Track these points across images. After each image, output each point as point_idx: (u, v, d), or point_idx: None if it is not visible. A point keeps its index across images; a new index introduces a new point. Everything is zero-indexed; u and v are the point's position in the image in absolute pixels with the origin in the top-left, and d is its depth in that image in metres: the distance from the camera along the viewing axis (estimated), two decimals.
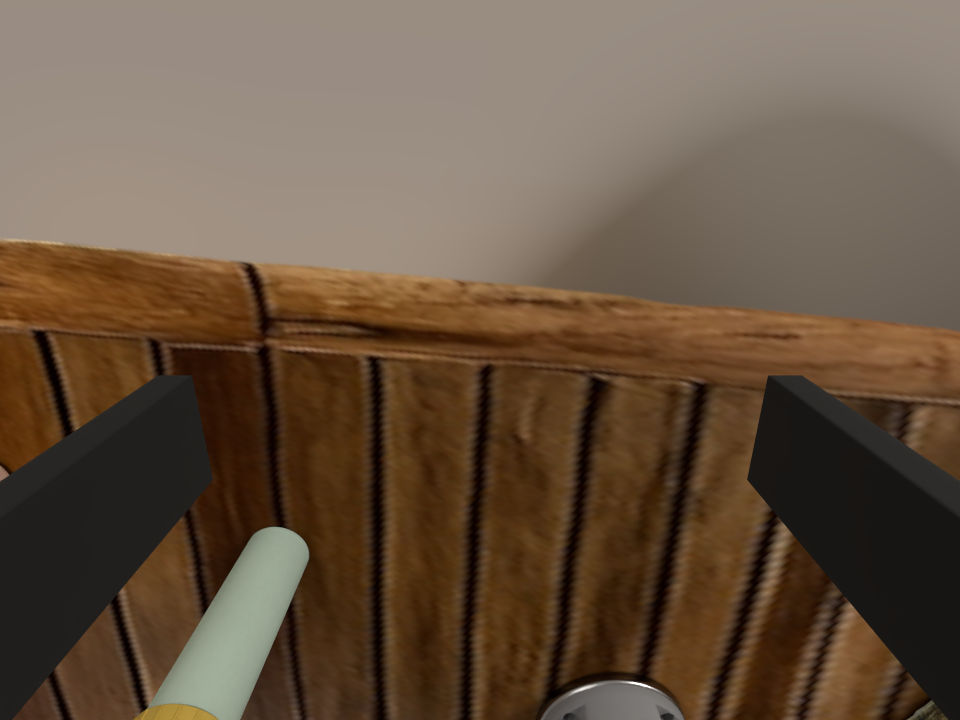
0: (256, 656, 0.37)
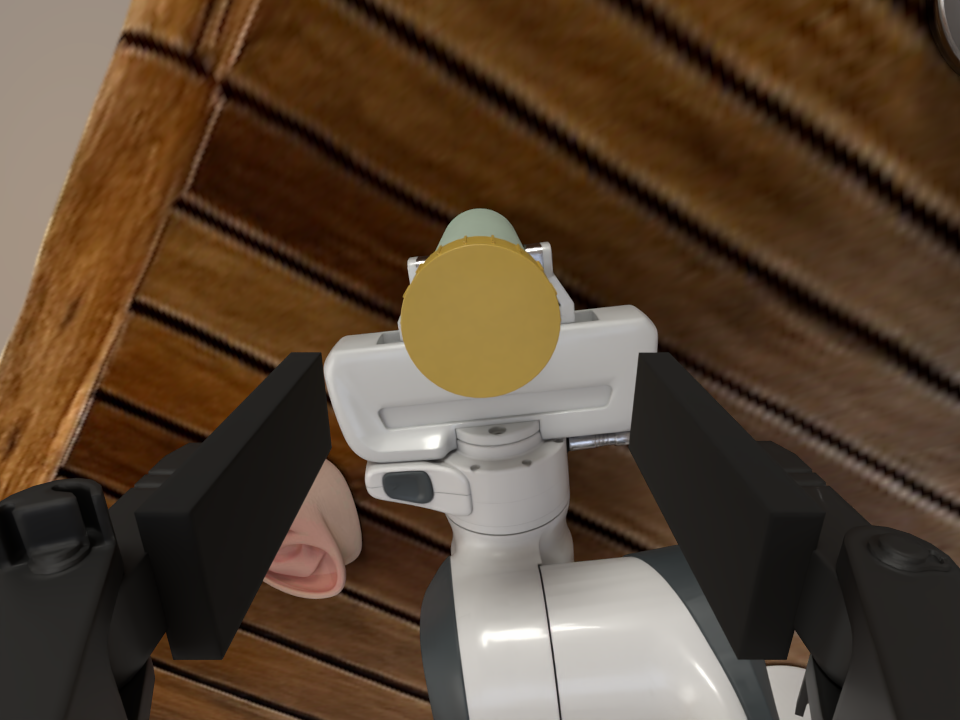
0: (492, 229, 0.26)
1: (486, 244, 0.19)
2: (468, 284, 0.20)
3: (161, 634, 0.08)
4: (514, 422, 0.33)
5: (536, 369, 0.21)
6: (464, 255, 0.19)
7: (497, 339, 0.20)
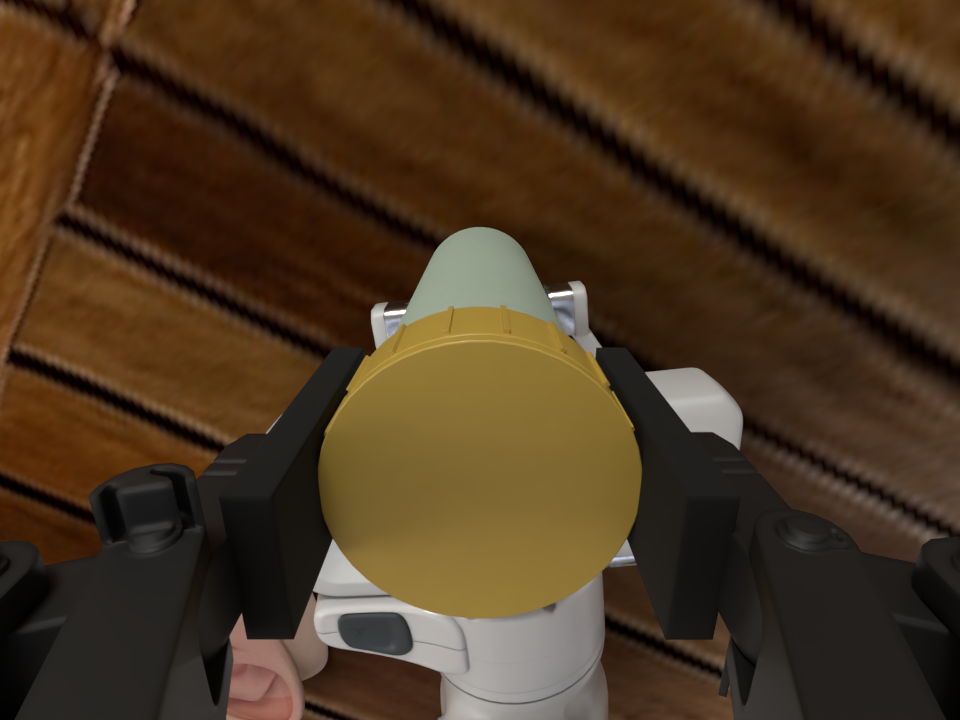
0: (499, 273, 0.16)
1: (492, 340, 0.09)
2: (454, 419, 0.09)
3: (238, 614, 0.08)
4: None
5: (589, 571, 0.11)
6: (445, 362, 0.09)
7: (513, 519, 0.10)
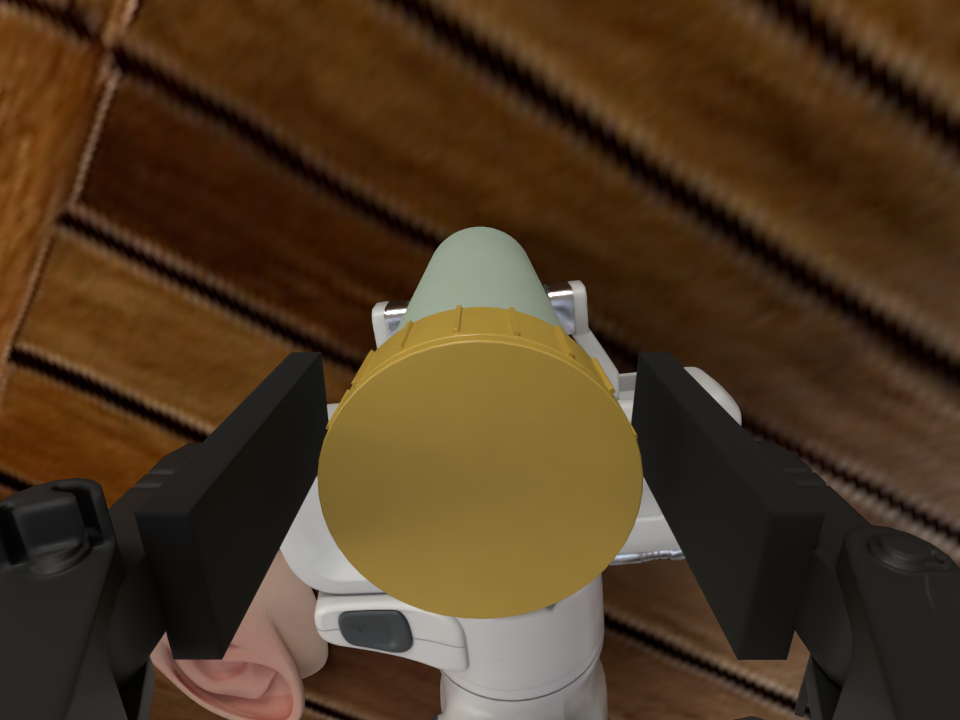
0: (499, 272, 0.16)
1: (342, 405, 0.09)
2: (395, 472, 0.10)
3: (161, 634, 0.08)
4: None
5: (629, 455, 0.10)
6: (340, 450, 0.10)
7: (524, 484, 0.10)
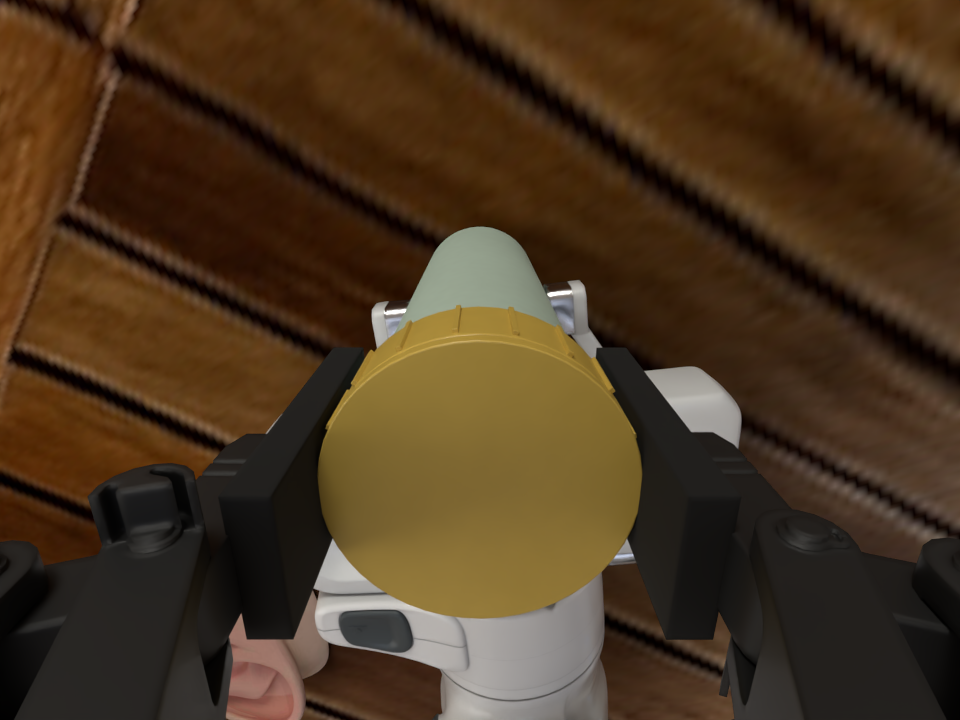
0: (498, 272, 0.16)
1: (342, 405, 0.09)
2: (395, 472, 0.10)
3: (238, 614, 0.08)
4: None
5: (628, 454, 0.10)
6: (340, 450, 0.10)
7: (524, 483, 0.10)
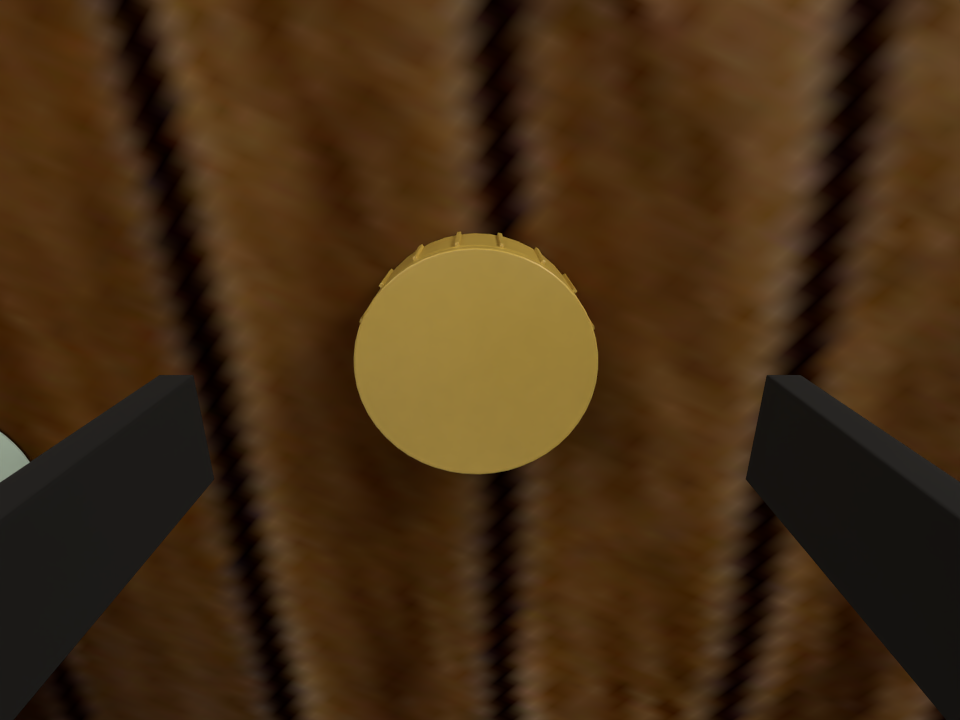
0: None
1: (373, 300, 0.13)
2: (412, 353, 0.13)
3: None
4: None
5: (586, 338, 0.13)
6: (371, 335, 0.13)
7: (509, 362, 0.13)
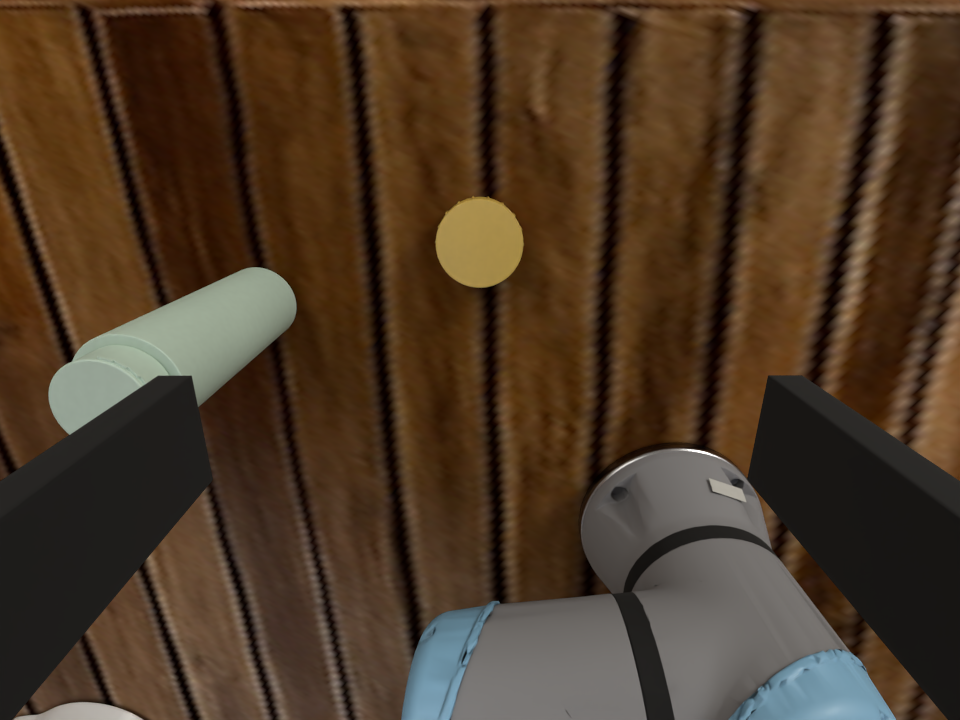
0: (225, 337, 0.30)
1: None
2: (456, 237, 0.37)
3: None
4: None
5: (518, 232, 0.37)
6: (442, 231, 0.37)
7: (491, 241, 0.37)
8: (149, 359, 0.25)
